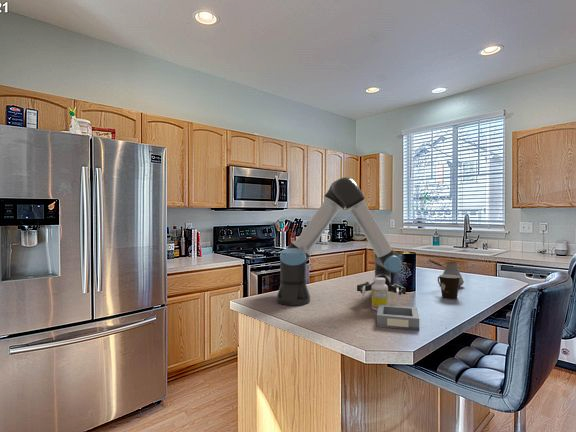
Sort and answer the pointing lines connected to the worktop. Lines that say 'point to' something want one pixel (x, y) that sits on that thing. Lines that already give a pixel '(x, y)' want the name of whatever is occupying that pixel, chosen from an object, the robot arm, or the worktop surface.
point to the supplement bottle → (379, 293)
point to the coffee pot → (450, 270)
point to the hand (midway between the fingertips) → (380, 293)
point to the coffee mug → (449, 286)
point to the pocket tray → (398, 317)
